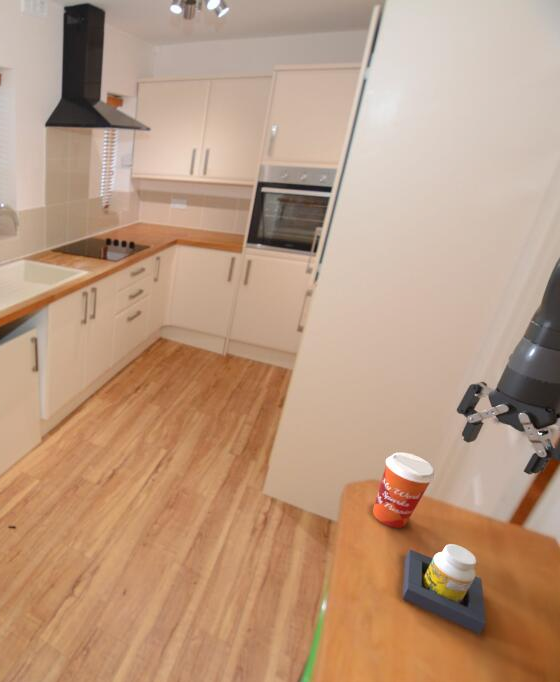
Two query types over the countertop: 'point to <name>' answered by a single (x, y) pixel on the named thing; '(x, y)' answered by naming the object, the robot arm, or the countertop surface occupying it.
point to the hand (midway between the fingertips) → (497, 455)
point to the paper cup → (402, 488)
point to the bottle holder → (463, 615)
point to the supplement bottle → (450, 573)
